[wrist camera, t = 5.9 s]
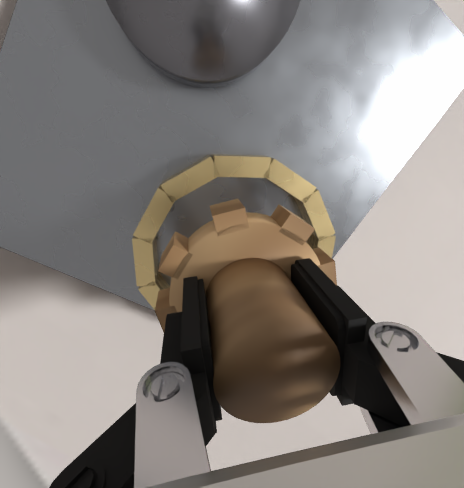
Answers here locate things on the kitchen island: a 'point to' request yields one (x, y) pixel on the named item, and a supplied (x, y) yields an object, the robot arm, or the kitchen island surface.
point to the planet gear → (255, 310)
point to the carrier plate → (207, 121)
